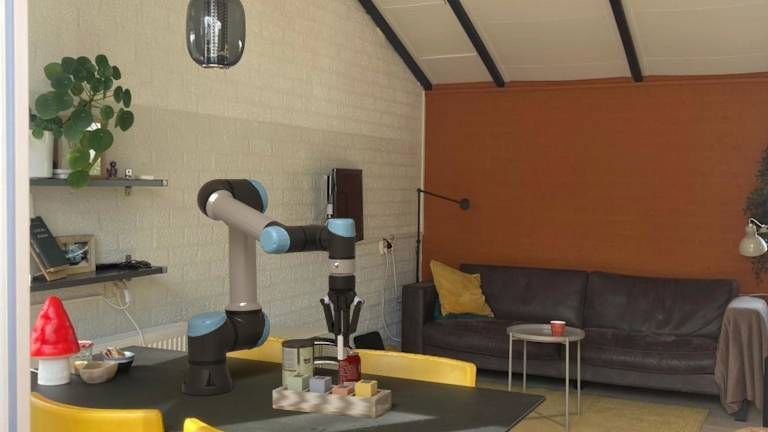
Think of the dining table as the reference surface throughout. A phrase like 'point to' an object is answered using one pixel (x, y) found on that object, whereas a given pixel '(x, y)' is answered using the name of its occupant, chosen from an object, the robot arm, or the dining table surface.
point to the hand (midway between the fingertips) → (342, 358)
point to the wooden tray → (332, 402)
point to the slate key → (320, 384)
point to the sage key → (298, 382)
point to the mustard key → (366, 388)
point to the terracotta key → (343, 390)
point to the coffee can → (297, 358)
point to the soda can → (350, 369)
